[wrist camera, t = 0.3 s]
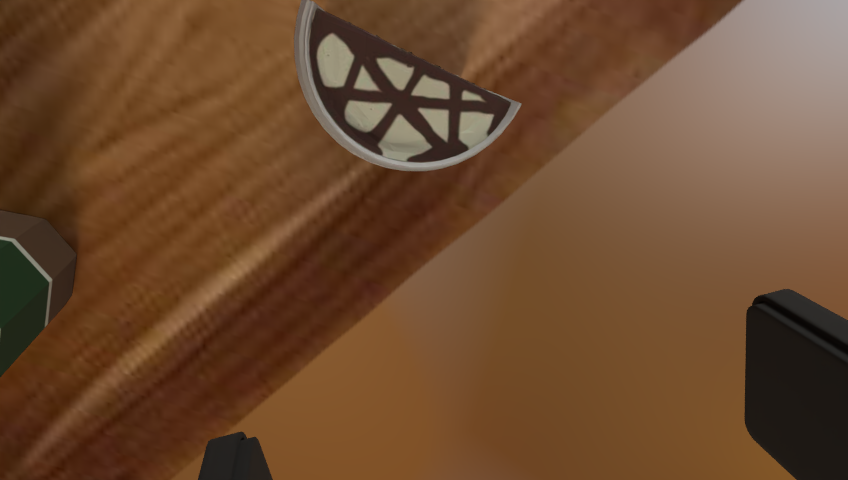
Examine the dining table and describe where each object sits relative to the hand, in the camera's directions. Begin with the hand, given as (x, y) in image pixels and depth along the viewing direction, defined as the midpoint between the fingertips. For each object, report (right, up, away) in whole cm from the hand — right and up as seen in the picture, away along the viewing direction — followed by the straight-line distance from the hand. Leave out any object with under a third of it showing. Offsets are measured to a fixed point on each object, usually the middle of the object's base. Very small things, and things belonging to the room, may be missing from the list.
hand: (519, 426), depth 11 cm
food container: (-5, +13, +28) cm, 31 cm away
